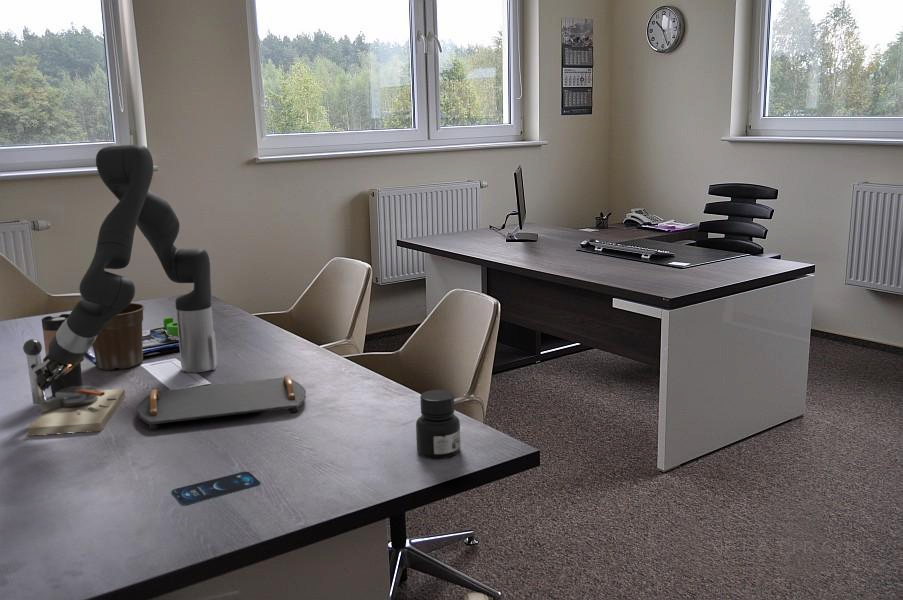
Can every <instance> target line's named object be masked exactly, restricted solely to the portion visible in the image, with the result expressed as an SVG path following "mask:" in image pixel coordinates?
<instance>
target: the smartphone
mask: <svg viewBox="0 0 903 600" xmlns="http://www.w3.org/2000/svg"><path fill="white" fill-rule="evenodd" d="M261 483H262V482H261V481H260V480H259V479H257V478H256V477H255V476H254V475H253V474H252V473H251V472H250V471H240V472H237V473H233V474H229V475H224V476H221V477H217V478H214V479H212V478H211V479H209V480H208V479H207V480H205V481H202V482H197V483H193V484H189V485H185V486H181V487H177V488H174V489H172V490H171V494H172V495H173V496H175V497H174V498H175V499H176V500H177V502H178V503H179V502H180V503H179V504H180V505H181V504H182V506H189V505H192V504H191V503H193V504H196V503H195V502H197V503H200V502H199V501H201V502H203V501H202V500H205V501H207V500H206V499H208V500H211V499H210V498H212V499H214V498H213V497H215V498H218V497H217V496H219V497H222V496H225V495H224V494H226V495H229V494H228V493H230V494H232V492H233V493H236V491H237V492H240V491H239V490H241V491H244V490H248V489H251V487H252V488H255V487H258V486H260V485H261ZM243 489H244V490H243ZM221 495H222V496H221ZM188 504H189V505H188Z"/></svg>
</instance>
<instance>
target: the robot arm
mask: <svg viewBox="0 0 903 600" xmlns="http://www.w3.org/2000/svg"><path fill="white" fill-rule="evenodd" d="M95 163H96V164H95V166H96V170H97V172H98V174H99V177H100V179H101V180H102V182H103V183H104V185H105V186H106V187H107V189H109V191H110V192H111V193H112V195H114V196H115V198H116V199H117V200H118V202H117V203H116V205H115V206H114V207H113V208H112V209H111V211H110V212H109V213H108V214H107V215H106V217H105V218H104V220H103V222H102V224H101V226H100V228H99V232H98V236H97V241H96V247H95V251H94V256H93V258H92V261H90V265H89V267H88V269H87V270H86V272H85V274H84V275H83V277H82V279H81V280H80V281H81V282H80V284H79V294H80V296H81V298H82V299H81V300H79V301H78V302H77V303H76V304H75V306H74V307H73V309H72V310H71V312H70V313H69V314H70V315H69V316H68V318H67V319H66V320H65V321H64V322H63V323H62V325H61V326H60V328H59V329H58V331H57V332H56V334H55V335H54V337H53V338H52V340H51V341H50V343H49V354H48V355H47V356H46V355H45V356H44V358H43V359H42V361H41V364H37V365H36V364H33V365H31V368H32V370H33V371H34V373H35V374H36V375H37V376H38V378H39V381H38V382H37V385H38V386H39V388H40V389H41V390H45V391H46V390H47V389H49V388H51V386H50V385H51V384H52V382H53V381H54V380H55V379H57V378H58V377H59V376H60V375H62V376H63V375H65V374H66V373H68V372H69V371H70V370H72V369H73V368H74V367H75V366H77V365H78V364H79V363H81V364H82V362H83V361H84V360H85V356H86V355H87V353H88V352H89V351H90V348H91V347H93V345H92V344H93V343H94V341H95V339H96V337H97V335H98V333H99V332H100V331H101V329H102V328H103V326H104V325H105V323H107V322H108V321H109V320H111V319H112V318H113V317H115V316H116V315H118V314H119V313H120V312H122V311H123V310H124V309H126V308H127V307H128V305H129V304H130V303H132V302H133V300H134V298H135V295H136V288H135V284H134V282H133V281H132V280H131V279H130V278H128V277H126V276H122V275H119V274H116V273H113V272H109V271H106V269H108V270H121V269H125V268H126V267H127V266H128V265H129V264H130V262H131V257H132V250H133V245H134V237H135V232H136V231H135V230H136V228H138V230H139V231H140V232H141V234H142V235H143V236H144V237H145V238H146V240H147V241H148V243H149V245H150V246H151V248H152V249H153V251H154V253H155V255H156V256H157V258H158V261H159V262H160V265H161V266H162V269H163V271H164V273H165V274H166V276H167V278H168V279H169V280H170V281H172V282H173V283H177V284H193V290H191V291H190V292H188V293H185V294H182V295H180V296H178V297H176V299H175V312H176V313H175V314H176V316H177V317H176V322H177V325H178V336H179V340H178V344H179V345H178V347H179V352H180V353H179V356H180V366H181V370H182V371H181V372H184V371H185V372H184V373H190V372H193V373H196V374H197V373H205V372H208V371H214V370H216V369H217V366H218V356H217V355H218V354H217V352H218V351H217V345H216V344H217V341H216V331H214V323H213V322H214V321H213V309H212V285H211V284H212V283H211V261H210V257H209V254H208V251H207V250H205V249H203V248H177V246H175V244H174V243H175V242H176V239H177V238H178V234H179V232H180V226H181V225H180V220H179V218H178V216H177V215H176V213H175V211H174V209H173V207H172V206H171V205H170V204H169V203H168V201H167V200H166V199H165V198H163V197H161V195H158V194H156V193H155V192H152V191H151V190H150V186H151V183H152V180H153V175H154V160H153V157H152V153H151V152H150V150H149V149H148V147H146V146H145V145H143V144H122V145H121V144H120V145H110V146H105V147H102V148H100V149H99V150H98V151H97V153H96V155H95ZM193 373H192V374H193Z"/></svg>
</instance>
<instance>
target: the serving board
mask: <svg viewBox="0 0 903 600" xmlns="http://www.w3.org/2000/svg"><path fill="white" fill-rule="evenodd" d="M306 393H307V392H306V389H305V387H303V385H301V384H300V383H299V382H298V381H296V380H294V379H292V378H291V376H290V375H289V374H287V375H284V376H283V377H278V378H267V379H255V380H248V381H246V380H245V381H241V382H240V381H239V382H229V383H226V382H225V383H220V384H219V383H218V384H211V385H202V386H192V387H183V388H174V389H165V390H164V389H163V390H158V389H151V390H150V394H149V395H147V396H146V397H144V398H143V399H142V400H141V401H140V403H139V404H138V405H137V410H136V414H137V417H138V418H139V419H140V420H141V421H142V422H144V423H145V424H147V425H148V429H149V431H157V430H159V428H160V424H166V423H174V422H175V423H177V422H183V421H191V420H192V421H193V420H199V419H208V418H209V419H210V418H217V417H226V416H233V415H234V416H235V415H240V414H241V415H243V414H250V413H251V414H253V413H259V412H267V411H277V410H284V409H285V410H287V409H288V412H289V414H292V415H293V414H297V413H298V412H299V408H298V407H300V406H301V405H302V404H303V403H304V401H305V400H306V398H307V396H306V395H307V394H306Z"/></svg>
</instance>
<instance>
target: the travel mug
mask: <svg viewBox="0 0 903 600" xmlns="http://www.w3.org/2000/svg"><path fill="white" fill-rule="evenodd" d="M69 315H70V313H62V314H60V315H58V316H52V315H48V316H44V317H42V318H41V325H42V326H41V327H42V333H43V334H42V335H43V341H44V352H45V357H46V356H47V355H48V354H49V343H50V341H51V340H52V338H53V337H54V335H55V334H56V332H57V331H58V329H59V328H60V326H61V325H62V323H63V322H64V321H65V320H66V319H67V318H68V316H69ZM81 364H82V362H81V363H79V364H78V365H77V366H75V367H74V368H73V369H72V370H70V371H69V372H68V373H66V374H65V375H63V376H62V375H60V376H59V377H58V378H57V379H55V380H54V381H53V382H52V384H51V385H50V389H51V390H50V391H51V396H52V398H53V397H56V395H55V394H56V392H57V391H59V390H61V389H64V388H68V387H72V386H80V385H83V375H82V365H81Z"/></svg>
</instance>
